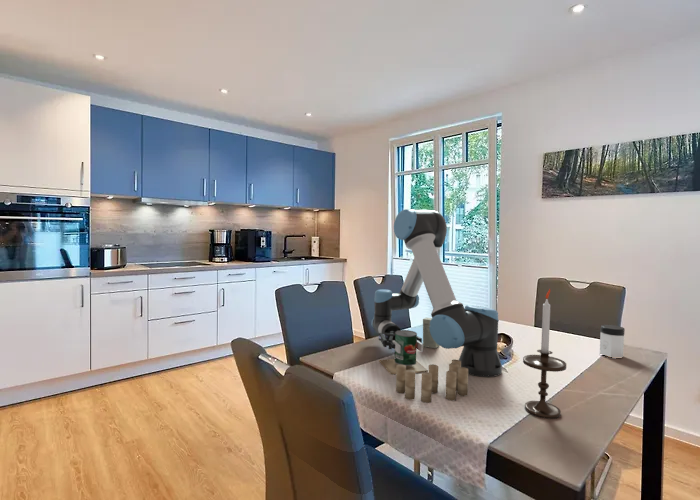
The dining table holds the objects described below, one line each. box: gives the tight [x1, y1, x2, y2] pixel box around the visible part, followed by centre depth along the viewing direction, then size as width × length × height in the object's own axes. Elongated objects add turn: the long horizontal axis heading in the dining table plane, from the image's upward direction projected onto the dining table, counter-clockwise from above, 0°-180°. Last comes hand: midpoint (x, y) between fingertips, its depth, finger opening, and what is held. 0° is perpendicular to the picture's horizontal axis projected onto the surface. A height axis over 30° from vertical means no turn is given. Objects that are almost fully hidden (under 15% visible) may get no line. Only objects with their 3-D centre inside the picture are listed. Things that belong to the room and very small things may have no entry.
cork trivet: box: [378, 358, 429, 376], centre depth 143 cm, size 14×14×1 cm
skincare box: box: [422, 317, 440, 349], centre depth 168 cm, size 6×4×12 cm
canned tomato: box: [394, 329, 418, 366], centre depth 141 cm, size 8×8×11 cm
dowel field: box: [395, 359, 469, 404], centre depth 120 cm, size 22×15×8 cm
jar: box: [599, 324, 625, 358], centre depth 159 cm, size 9×8×12 cm
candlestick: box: [522, 289, 567, 420], centre depth 108 cm, size 11×11×35 cm
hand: (410, 348), depth 136 cm, fingers closed on canned tomato, 8 cm apart
